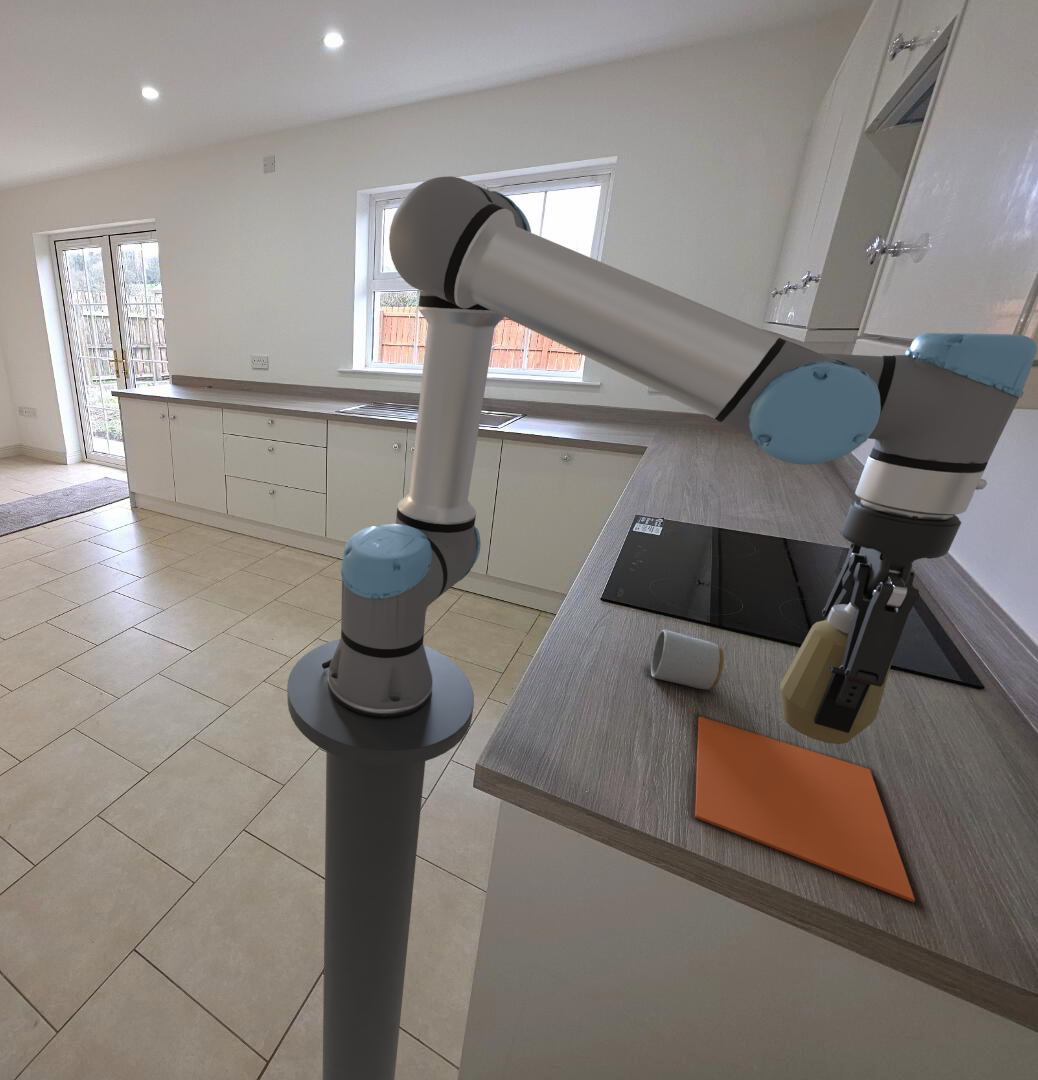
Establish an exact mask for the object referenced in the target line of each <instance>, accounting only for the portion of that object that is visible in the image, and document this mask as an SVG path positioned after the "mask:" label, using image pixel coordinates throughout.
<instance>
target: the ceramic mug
mask: <svg viewBox="0 0 1038 1080" xmlns="http://www.w3.org/2000/svg"><path fill="white" fill-rule="evenodd" d="M724 653H725V652H724V651H723V648H722V647H721V646H720V645H718V644H716V643H714V642H711V641H708V640H705V639H702V638H696V637H693V636H689V635H687V634H682V633H680V632H675V631H672V630H668V629H663V630H661V631H660V632H659V634H658V636H657V638H656V641H655V644H654V647H653V652H652V658H651V664H650V674H651V677H652V678H654V679H656V680H661V681H665V682H668V683H673V684H678V685H682V686H687V687H691V688H695V689H698V690H713V689H715V688H716V687H717V685H718V684H719V682H720V680H721V677H722V675H723V672H724V671H723V670H724V666H725V654H724Z"/></svg>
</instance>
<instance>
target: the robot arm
mask: <svg viewBox="0 0 1038 1080" xmlns="http://www.w3.org/2000/svg"><path fill="white" fill-rule="evenodd" d="M388 242H389V243H388V245H389V246H388V247H389V253H390V257H391V261H392V264H393V266H394V269H395V270H396V272H397V273H398V275H399V276H400V277H401V279H403V280H404V282H406V283H407V284H408V285H409V286H410V287H411V288H414V289H416V290H418V291H419V295H418V307H417V310H418V311H419V312H420V314H421V315H422V316H423V317H424V319H425V320H426V323H427V328H426V338H425V347H424V348H425V349H424V356H423V363H422V365H423V367H422V373H421V374H422V375H421V384H420V385H421V386H420V393H419V394H420V395H419V402H418V410H417V419H416V427H415V428H416V429H415V438H414V446H413V455H412V463H411V475H410V483H409V490H408V491H409V492H408V494H407V495H405V496H404V497H402V498H401V499H400V500H399V501H398V503H397V508H396V515H395V516H396V517H395V523H384V524H383V523H382V524H380V526H375V525H371V526H368V527H365V528H363V529H360V530H359V531H357V532H356V533H354V534H353V535H352V536H351V537H350V538H349V539H347V540H348V541H347V542H346V544H345V546H344V549H343V556H342V562H341V567H340V575H341V617H340V619H341V620H340V625H341V626H340V631H341V632H340V638H339V639H340V641H339V644H338V646H337V649H336V651H335V653H334V656H333V658H332V659H331V660H329V661H327V662H325V663H322V667H323V668H324V669H326V668H328V667H329V670H328V689H329V692H330V694H331V696H332V697H333V699H334V700H335V701H336V702H337V703H338V704H340V705H341V706H342V707H344V708H345V709H347V710H349V711H351V712H353V713H356V714H358V715H362V716H365V717H370V718H377V719H393V718H400V717H404V716H408V715H411V714H413V713H415V712H417V711H419V710H420V709H422V708H423V707H424V706H425V705H426V704H427V703H428V701H429V700H430V697H431V694H432V685H433V679H432V673H431V670H430V666H429V662H428V659H427V655H426V652H425V648H424V646H425V644H424V636H425V627H426V626H425V625H426V615H427V611H428V608H429V606H430V605H431V604H432V603H433V602H435V601H436V600H437V599H438V598H440V597H441V596H442V595H443V594H444V593H446V592H447V591H449V590H450V589H451V588H452V587H453V586H455V585H456V584H457V583H459V582H461V581H462V580H463V579H464V578H465V577H466V576H468V574H469V573H470V572H471V571H472V569H473V567H474V566H475V564H476V563H477V561H478V558H479V556H480V552H481V546H482V545H481V535H480V532H479V529H478V527H477V526H476V517H477V510H476V509H475V507H474V506H473V505H472V503H471V502H470V500H469V495H470V487H471V482H472V481H471V480H472V475H473V468H474V463H475V462H474V461H475V455H476V449H477V443H478V435H479V431H480V423H481V418H482V411H483V405H484V398H485V391H486V387H487V386H486V385H487V380H488V379H487V378H488V373H489V366H490V360H491V354H492V347H493V340H494V334H495V329H496V327H497V325H498V324H499V323H501V322H502V321H503V320H504V319H505V318H506V319H508V320H509V321H510V320H511V321H512V322H514V323H516V324H518V325H520V326H522V327H525V328H526V329H528V330H530V331H532V332H535V333H537V334H538V335H541V336H543V337H545V338H547V339H549V340H551V341H553V342H556V343H557V344H560V345H562V346H563V347H566V348H567V349H570V350H572V351H573V352H576V353H578V354H580V355H582V356H584V357H586V358H589V359H591V360H592V361H595V362H597V363H598V364H601V365H602V366H605V367H607V368H608V369H611V370H613V371H615V372H617V373H619V374H622V375H624V376H625V377H628V378H630V379H632V380H634V381H635V382H637V383H640V384H642V385H644V386H646V387H648V388H649V389H652V390H654V391H656V392H658V393H661V394H663V395H665V396H666V397H669V398H671V399H673V400H675V401H677V402H679V403H681V404H683V405H685V406H687V407H689V408H691V409H693V410H695V411H698V412H699V413H701V414H703V415H706V416H707V417H710V418H712V419H714V420H715V421H718V422H719V423H721V424H723V425H724V426H726V427H728V428H730V429H732V430H734V431H737V432H738V433H740V434H743V435H744V436H746V437H748V438H750V439H752V440H753V442H754V443H755V444H756V445H757V446H758V447H759V448H760V449H761V451H763V452H764V453H766V454H767V455H769V456H771V457H773V458H774V459H776V460H779V461H781V462H784V463H788V464H793V465H807V466H808V465H818V464H824V463H828V462H832V461H835V460H838V459H840V458H842V457H845V456H846V455H848V454H850V453H852V452H853V451H855V450H856V449H858V448H859V447H860V446H861V445H863V444H864V443H866V442H867V440H869V439H871V440H874V443H873V447H872V449H871V451H870V453H869V455H868V457H867V460H866V462H865V464H864V468H863V470H862V473H861V476H860V478H859V481H858V484H857V486H856V489H855V492H854V495H856V496H857V497H858V498H859V499H857V500H855V501H853V502H852V503H851V504H850V507H849V509H848V512H847V515H846V516H845V517H846V518H845V520H844V522H843V526H842V528H841V535H842V536H843V538H844V539H845V540H847V541H848V542H850V544H849V550H848V553H847V555H846V559H845V561H844V563H843V566H842V568H841V569H840V571H839V575H838V577H837V579H836V581H835V583H834V585H833V588H832V590H831V592H830V594H829V596H828V599H827V601H826V603H825V605H824V607H823V608H822V611H821V614H822V617H823V618H824V619H823V621H825V620H827V618H828V616H829V613H830V611H831V608H832V607H833V606H834V605H839V604H849V603H851V605H852V606H853V607H854V608H855V612H854V616H853V620H852V624H851V628H850V631H849V635H848V639H847V643H846V647H845V651H844V655H843V658H842V662H841V666H840V667H839V668H837V667H833V666H830V672H832V673H833V674H832V676H831V679H830V681H829V684H828V686H827V689H826V691H825V693H824V696H823V698H822V701H821V703H820V706H819V708H818V710H817V713H816V715H815V718H814V722H815V724H818V725H822V726H825V727H829V728H832V729H836V730H839V731H843V732H846V733H849V732H850V729H851V727H852V725H853V723H854V720H855V718H856V716H857V714H858V711H859V709H860V707H861V705H862V702H863V700H864V698H865V696H866V693H867V691H868V689H869V687H870V685H875V686H879V687H881V686H882V685H883V684H884V682H885V677H886V674H887V672H888V669H889V666H890V663H891V661H892V662H893V660H892V658H893V659H894V656H895V653H896V650H897V647H898V644H899V642H900V639H901V636H902V634H903V631H904V628H905V625H906V622H907V619H908V617H909V614H910V613H911V611H912V609H913V608H914V605H915V603H916V602H917V600H918V599H919V597H920V591H919V588H915V587H912V586H913V583H914V579H915V572H914V571H912V568H913V563H914V562H915V561H917V560H921V559H928V560H929V559H937V558H941V557H943V556H945V555H946V554H948V553H949V551H950V549H951V546H952V544H953V542H954V540H955V538H956V537H957V534H958V531H959V530H960V527H961V525H962V521H961V520H960V518H959V517H958V516H957V515H960V514H963V513H965V512H967V510H968V508H969V506H970V503H971V502H972V499H973V497H974V494H975V491H976V490H977V491H979V490H984V489H986V487H987V486H988V482H987V480H986V479H985V478H984V479H983V478H982V477H983V475H984V473H985V470H986V468H987V466H988V463H989V461H990V459H991V457H992V455H993V452H994V451H995V449H996V447H997V444H998V442H999V440H1000V438H1001V436H1002V434H1003V432H1004V430H1005V427H1006V425H1007V424H1008V421H1009V420H1010V418H1011V416H1012V413H1013V412H1014V409H1015V408H1016V405H1017V404H1018V401H1019V399H1022V397H1023V396H1024V389H1025V385H1026V383H1027V380H1028V377H1029V376H1030V375H1029V374H1030V372H1031V369H1032V366H1033V363H1034V362H1035V359H1036V355H1037V352H1038V346H1037V342H1035V340H1034V339H1033V338H1031V337H1029V336H1026V335H1022V334H1011V333H1010V334H1009V333H1007V334H1005V333H969V332H968V333H963V332H959V333H958V332H957V333H955V332H953V333H945V332H927V333H921V334H920V335H917V336H916V337H915V338H914V339H913V340H912V342H911V345H910V347H909V348H908V349H906V351H905V353H904V354H893V355H880V356H879V355H863V354H844V353H824V352H822V353H821V352H817V351H814V350H812V349H810V348H807V347H804V346H802V345H800V344H798V343H795V342H793V341H789V340H786V339H784V338H782V337H780V336H778V335H776V334H773V333H771V332H769V331H766V330H764V329H761V328H759V327H757V326H755V325H752V324H749V323H747V322H745V321H743V320H740V319H737V318H736V317H733V316H731V315H728V314H726V313H724V312H721V311H718V310H716V309H714V308H713V307H712V308H711V307H709V306H707V305H704V304H702V303H699V302H697V301H694V300H693V299H690V298H689V297H688V298H687V297H685V296H683V295H681V294H678V293H676V292H673V291H671V290H668V289H666V288H664V287H661V286H659V285H656V284H655V283H652V282H650V281H647V280H645V279H642V278H640V277H638V276H635V275H633V274H630V273H628V272H626V271H624V270H620V269H619V268H616V267H614V266H612V265H609V264H607V263H604V262H602V261H599V260H597V259H594V258H592V257H590V256H588V255H586V254H583V253H580V252H578V251H576V250H573V249H571V248H569V247H566V246H564V245H562V244H560V243H556V242H555V241H552V240H550V239H547V238H545V237H542V236H540V235H537V234H535V233H533V232H532V229H531V225H530V222H529V221H528V218H527V216H526V215H525V213H524V211H522V210H521V208H520V207H519V206H518V205H517V204H516V203H515V202H514V201H513V199H511V198H510V197H508V196H506V195H504V194H503V193H501V192H498V191H495V190H489V189H487V188H484V187H482V186H479V185H477V184H475V183H473V182H471V181H469V180H466V179H464V178H460V177H457V176H439V177H434V178H430V179H428V180H425V181H423V182H422V183H420V184H419V185H417V186H416V187H414V188H413V189H411V191H410V192H409V193H408V194H407V195H405V197H404V198H403V200H402V201H401V202H400V203H399V205H398V206H397V209H396V211H395V212H394V215H393V217H392V221H391V224H390V228H389V236H388ZM863 598H864V599H869V600H871V601H870V602H869V601H865V600H863ZM893 655H894V656H893ZM891 664H892V663H891Z"/></svg>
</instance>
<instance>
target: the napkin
mask: <svg viewBox="0 0 1038 1080" xmlns="http://www.w3.org/2000/svg"><path fill="white" fill-rule="evenodd" d="M697 720H698V721H697V722H698V723H697V749H696V751H697V752H696V776H695V779H696V780H695V807H694V809H695V810H694V818H695V819H698V820H701V821H703V822H706V823H707V824H711V825H712V826H715V827H718V828H721V829H724V830H726V831H728V832H731V833H733V834H736V835H739V836H740V837H741V836H742V837H744V838H747V839H749V840H751V841H754V842H757V843H760V844H762V845H764V846H767V847H770V848H772V849H775V850H777V851H779V852H782V853H785V854H788V855H790V856H793V857H795V858H798V859H800V860H803V861H806V862H808V863H811V864H813V865H816V866H818V867H821V868H824V869H826V870H829V871H831V872H833V873H837V874H839V875H842V876H844V877H847V878H850V879H852V880H855V881H856V882H860V883H862V884H865V885H867V886H869V887H873V888H875V889H878V890H880V891H883V892H885V893H888V894H891V895H893V896H896V897H898V898H901V899H904V900H906V901H908V902H911V903H915V901H916V898H915V895H914V892H913V890H912V887H911V883H910V880H909V879H908V875H907V873H906V870H905V865H904V864H903V861H902V858H901V855H900V852H899V850H898V846H897V843H896V841H895V838H894V835H893V832H892V829H891V826H890V823H889V821H888V817H887V815H886V811H885V808H884V806H883V802H882V801H881V800H882V799H881V797H880V795H879V792H878V789H877V786H876V783H875V780H874V777H873V774H872V770H871V769H870V768H867V767H865V766H861V765H857V764H854V763H851V762H848V761H845V760H841V759H838V758H835V757H832V756H829V755H825V754H822V753H820V752H815V751H814V750H813V751H812V750H810V749H807V748H803V747H799V746H796V745H793V744H790V743H787V742H784V741H780V740H777V739H774V738H771V737H768V736H765V735H760V734H758V733H756V732H755V733H754V732H751V731H748V730H744V729H742V728H739V727H735V726H732V725H729V724H726V723H722V722H720V721H717V720H714V719H713V720H712V719H709V718H706V717H703V716H700V715H699V716H698V719H697Z"/></svg>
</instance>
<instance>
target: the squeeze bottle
mask: <svg viewBox="0 0 1038 1080" xmlns="http://www.w3.org/2000/svg"><path fill="white" fill-rule="evenodd" d="M863 600H865V601H869V602H870V601H871V600H869V599H864V598H863ZM854 612H855V608H854V607H853V606H852V605H851V603H849V604H839V605H834V606H833V607H832V608H831V611H830V613H829V616H828V618H827V620H825V619H824V620H825V621H824V620H820V621H816V622H815V623H814V624H813V625H812V626H811V627H810V629H809V631H808V633H807V635H806V636H805V638H804V640H803V642H802V644H801V645H800V647H799V649H798V651H797V653H796V655H795V656H794V658H793V660H792V662H791V664H790V665H789V668H788V669H787V671H786V673H785V675H784V676H783V678H782V680H781V682H780V684H779V686H780V699H781V708H782V716H783V720H784V721H785V722H786V723H787V724H788V726H789V727H791V728H792V729H794V730H795V731H797V732H798V733H800V734H802V735H804V736H806V737H808V738H810V739H813V740H815V741H819V742H822V743H826V744H833V745H842V744H847V743H849V742H850V741H851V740H853V738H855V737H856V736H858V735H859V734H861V732H863V731H864V730H865V729H867V728H868V727H869V726H870V725H872V723H873V722H874V721H875V720H876V719H877V716H878V714H879V709H880V706H881V702H882V698H883V695H884V692H885V689H886V684H887V681H888V677H889V674H890V670H891V666H892V663H893V659H894V656H895V654H894V655H893V658H892V661H891V663H890V666H889V669H888V672H887V674H886V677H885V682H884V684H883V685H882V686H881V687H879V686H875V685H870V687H869V689H868V691H867V693H866V696H865V698H864V700H863V702H862V705H861V707H860V709H859V711H858V714H857V716H856V718H855V720H854V723H853V725H852V727H851V729H850V732H849V733H846V732H843V731H839V730H836V729H832V728H829V727H825V726H822V725H818V724H815V722H814V718H815V715H816V713H817V710H818V708H819V706H820V703H821V701H822V698H823V696H824V693H825V691H826V689H827V686H828V684H829V681H830V679H831V676H832V674H833V673H832V672H830V666H833V667H837V668H839V667H840V666H841V662H842V658H843V655H844V651H845V647H846V643H847V639H848V635H849V631H850V628H851V624H852V620H853V616H854Z"/></svg>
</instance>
